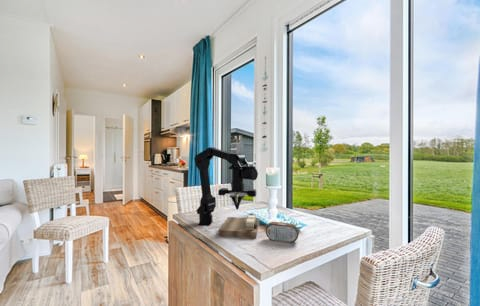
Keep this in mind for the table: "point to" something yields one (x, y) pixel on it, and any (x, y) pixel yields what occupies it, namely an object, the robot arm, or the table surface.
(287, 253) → the table surface
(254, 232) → the stool seat
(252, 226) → the stool leg
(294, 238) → the retro speaker
